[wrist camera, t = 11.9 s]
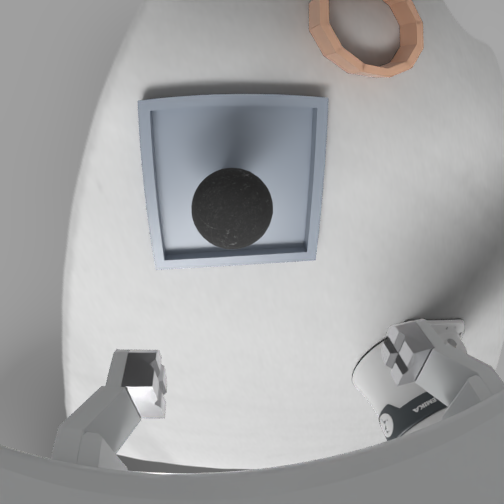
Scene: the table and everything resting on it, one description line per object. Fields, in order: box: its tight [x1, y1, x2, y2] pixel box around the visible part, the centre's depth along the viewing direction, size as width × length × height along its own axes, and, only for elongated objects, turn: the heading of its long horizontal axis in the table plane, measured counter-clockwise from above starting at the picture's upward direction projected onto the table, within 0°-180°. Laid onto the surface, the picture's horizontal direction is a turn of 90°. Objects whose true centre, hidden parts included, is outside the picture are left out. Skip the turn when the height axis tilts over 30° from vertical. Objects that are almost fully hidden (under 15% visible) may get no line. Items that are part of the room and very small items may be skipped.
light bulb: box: [191, 168, 273, 249], centre depth 23 cm, size 6×6×10 cm
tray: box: [138, 94, 328, 270], centre depth 28 cm, size 16×16×2 cm
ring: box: [309, 0, 423, 78], centre depth 21 cm, size 11×11×3 cm
